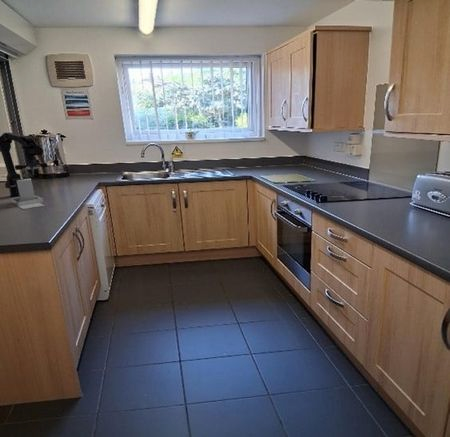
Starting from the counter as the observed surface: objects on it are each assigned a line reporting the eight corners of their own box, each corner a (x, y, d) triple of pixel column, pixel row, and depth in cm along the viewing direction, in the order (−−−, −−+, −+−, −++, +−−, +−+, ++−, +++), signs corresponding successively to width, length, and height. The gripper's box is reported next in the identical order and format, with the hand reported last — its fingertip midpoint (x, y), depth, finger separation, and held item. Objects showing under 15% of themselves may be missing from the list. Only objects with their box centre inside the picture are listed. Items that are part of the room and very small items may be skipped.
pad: (17, 206, 217) (17, 205, 217) (38, 203, 225) (38, 202, 225) (23, 209, 209) (22, 208, 209) (44, 205, 217) (44, 205, 217)
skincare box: (35, 201, 232) (31, 178, 228) (35, 202, 227) (31, 179, 223) (20, 202, 228) (16, 179, 224) (20, 204, 223) (16, 180, 219)
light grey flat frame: (10, 201, 234) (9, 197, 233) (33, 197, 243) (32, 194, 242) (18, 206, 218) (18, 202, 217) (43, 202, 227) (42, 198, 226)
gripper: (14, 157, 223) (19, 182, 227) (47, 154, 233) (51, 178, 237) (12, 156, 231) (17, 180, 235) (44, 154, 242) (47, 177, 246)
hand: (33, 179), depth 238 cm, fingers closed
